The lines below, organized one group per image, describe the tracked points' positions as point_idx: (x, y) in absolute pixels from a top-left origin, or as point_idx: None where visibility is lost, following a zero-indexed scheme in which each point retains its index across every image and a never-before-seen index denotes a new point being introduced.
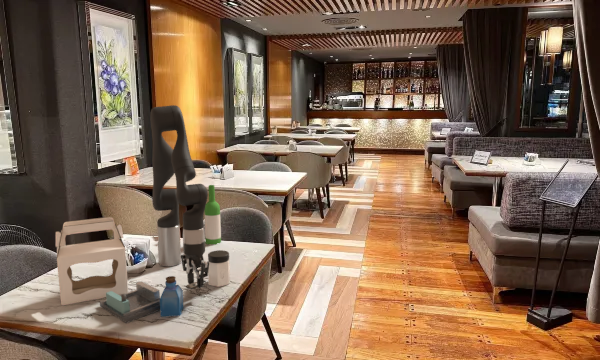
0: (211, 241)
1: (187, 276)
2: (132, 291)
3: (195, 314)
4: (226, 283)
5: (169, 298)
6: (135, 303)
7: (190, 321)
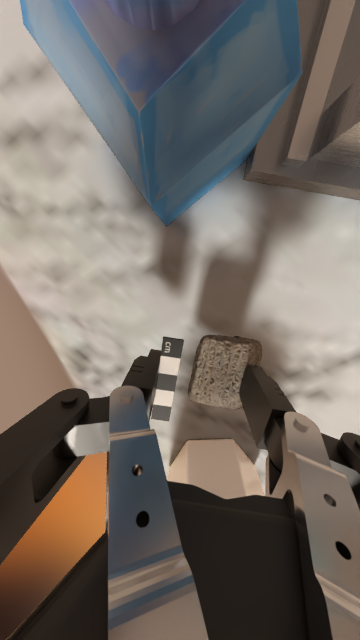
0: None
1: (289, 402)
2: None
3: (56, 200)
4: (171, 468)
5: None
6: None
7: (7, 117)
